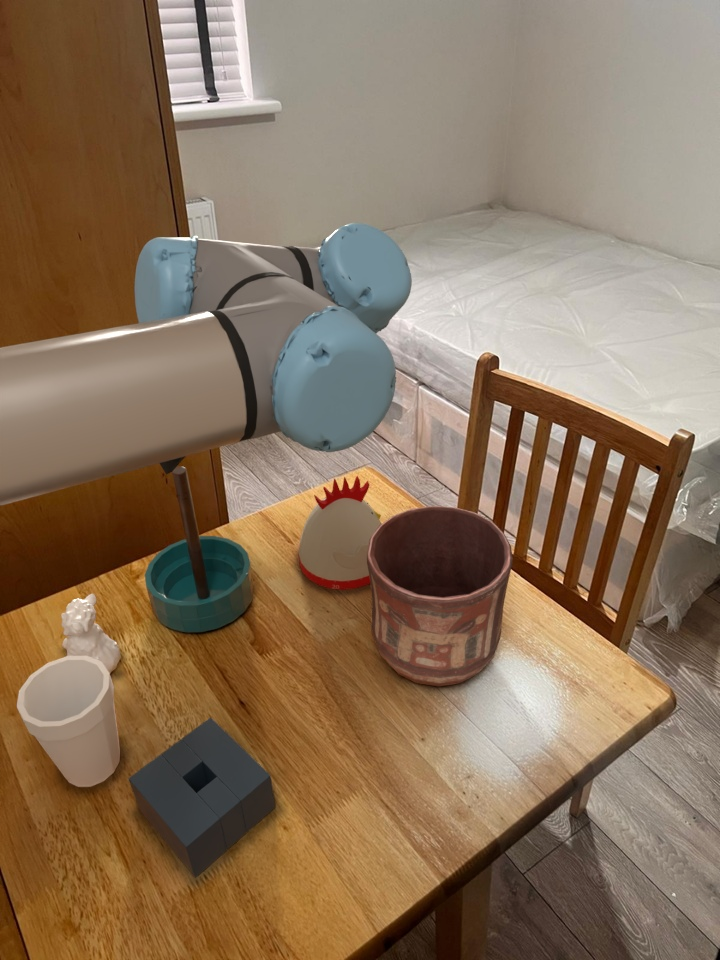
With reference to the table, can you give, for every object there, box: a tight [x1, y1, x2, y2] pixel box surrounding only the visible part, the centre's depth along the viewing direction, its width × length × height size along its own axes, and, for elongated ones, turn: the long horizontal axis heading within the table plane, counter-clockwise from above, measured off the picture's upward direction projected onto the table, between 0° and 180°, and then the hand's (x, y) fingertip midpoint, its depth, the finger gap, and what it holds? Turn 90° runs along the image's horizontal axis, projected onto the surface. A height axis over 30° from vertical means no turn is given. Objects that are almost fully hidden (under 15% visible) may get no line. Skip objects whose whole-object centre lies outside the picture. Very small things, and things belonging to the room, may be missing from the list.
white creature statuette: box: [60, 593, 122, 674], centre depth 93 cm, size 10×9×12 cm
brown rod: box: [171, 466, 210, 599], centre depth 100 cm, size 2×2×22 cm
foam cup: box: [16, 655, 121, 788], centre depth 81 cm, size 10×9×13 cm
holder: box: [128, 717, 276, 879], centre depth 78 cm, size 11×11×6 cm
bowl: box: [144, 535, 255, 633], centre depth 105 cm, size 15×15×6 cm
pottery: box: [367, 505, 514, 687], centre depth 92 cm, size 18×18×18 cm
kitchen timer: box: [298, 475, 382, 591], centre depth 109 cm, size 14×14×15 cm
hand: (213, 438), depth 83 cm, fingers open, 13 cm apart
